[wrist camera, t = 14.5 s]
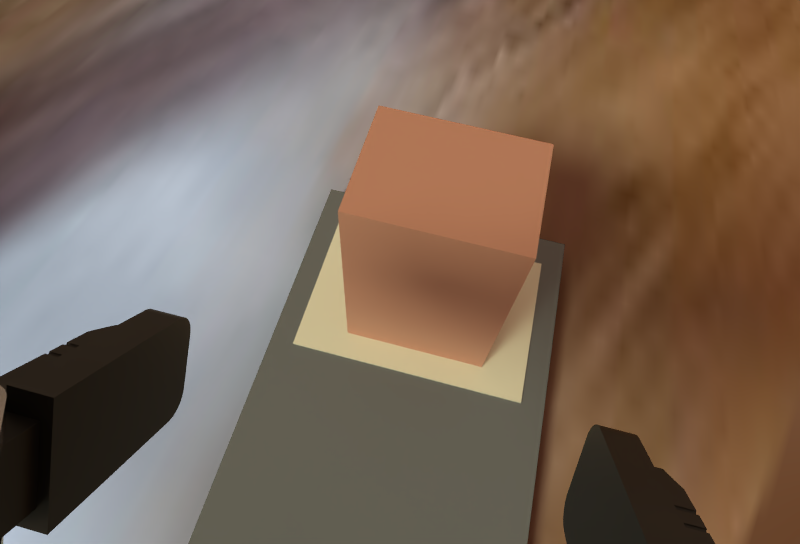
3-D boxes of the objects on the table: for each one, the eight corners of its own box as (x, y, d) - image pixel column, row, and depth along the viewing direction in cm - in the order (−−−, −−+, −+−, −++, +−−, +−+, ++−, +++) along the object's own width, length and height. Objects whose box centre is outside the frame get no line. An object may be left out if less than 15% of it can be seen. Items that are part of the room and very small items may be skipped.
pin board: (129, 713, 19) (75, 741, 15) (332, 201, 29) (327, 150, 26) (484, 829, 18) (511, 886, 14) (558, 255, 28) (584, 209, 25)
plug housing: (347, 332, 24) (337, 211, 17) (376, 245, 27) (379, 103, 19) (481, 367, 24) (536, 258, 16) (499, 275, 26) (554, 142, 19)
